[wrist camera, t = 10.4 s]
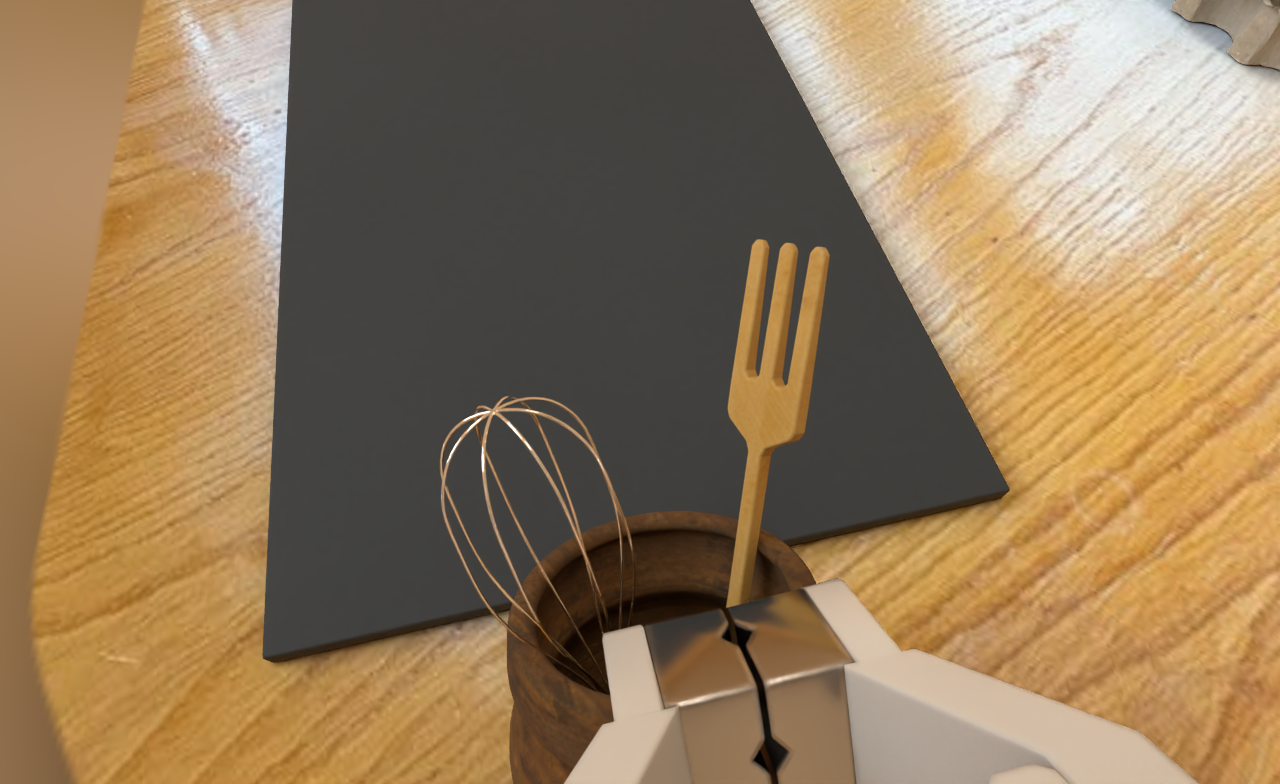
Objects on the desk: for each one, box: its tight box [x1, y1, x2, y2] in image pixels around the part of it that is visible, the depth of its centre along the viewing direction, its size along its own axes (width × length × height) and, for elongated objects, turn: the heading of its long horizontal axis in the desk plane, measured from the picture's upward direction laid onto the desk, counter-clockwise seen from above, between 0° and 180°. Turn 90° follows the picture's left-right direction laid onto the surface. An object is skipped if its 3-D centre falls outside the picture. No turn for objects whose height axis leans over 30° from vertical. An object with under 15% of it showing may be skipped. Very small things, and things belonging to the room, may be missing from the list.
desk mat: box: [263, 0, 1010, 662], centre depth 28 cm, size 20×36×1 cm, turn 13°
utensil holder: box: [440, 239, 830, 784], centre depth 12 cm, size 6×6×12 cm
